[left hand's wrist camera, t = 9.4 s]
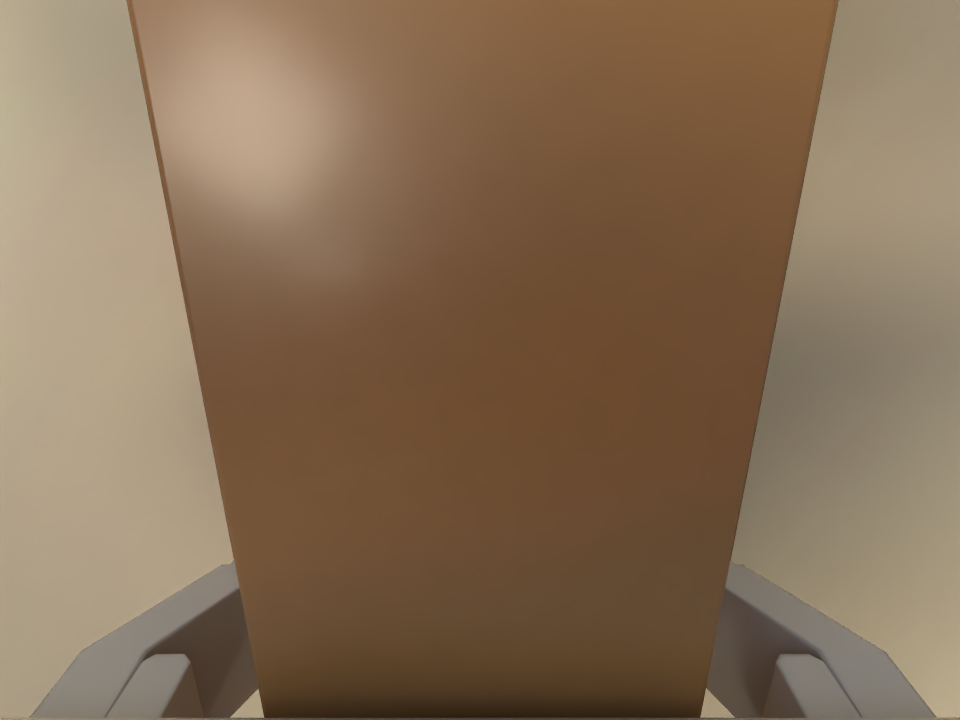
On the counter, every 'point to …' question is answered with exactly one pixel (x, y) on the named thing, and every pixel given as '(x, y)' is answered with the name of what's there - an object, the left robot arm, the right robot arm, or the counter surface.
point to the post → (482, 330)
